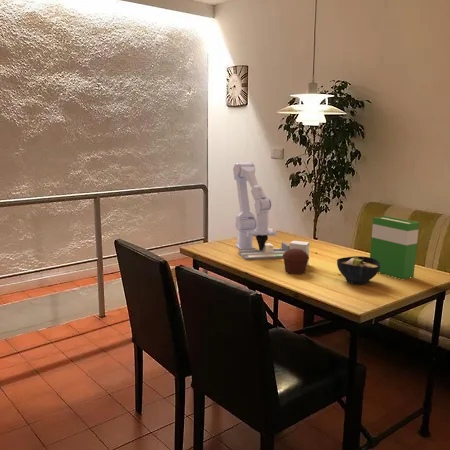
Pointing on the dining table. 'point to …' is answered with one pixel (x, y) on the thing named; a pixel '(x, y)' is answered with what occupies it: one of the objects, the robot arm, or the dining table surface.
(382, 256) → the hardback book
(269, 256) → the gauge board
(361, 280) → the bowl
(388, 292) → the dining table surface
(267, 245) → the gauge slider
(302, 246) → the small box
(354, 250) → the dining table surface
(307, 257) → the muffin
